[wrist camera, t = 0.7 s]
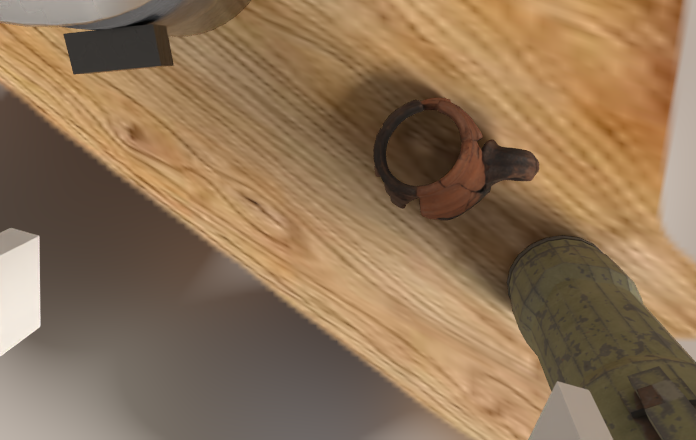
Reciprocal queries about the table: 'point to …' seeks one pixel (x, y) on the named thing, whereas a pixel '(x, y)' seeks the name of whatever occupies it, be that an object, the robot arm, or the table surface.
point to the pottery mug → (467, 173)
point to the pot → (144, 34)
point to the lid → (63, 11)
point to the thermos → (603, 339)
